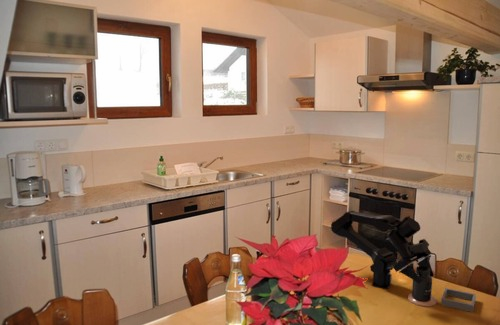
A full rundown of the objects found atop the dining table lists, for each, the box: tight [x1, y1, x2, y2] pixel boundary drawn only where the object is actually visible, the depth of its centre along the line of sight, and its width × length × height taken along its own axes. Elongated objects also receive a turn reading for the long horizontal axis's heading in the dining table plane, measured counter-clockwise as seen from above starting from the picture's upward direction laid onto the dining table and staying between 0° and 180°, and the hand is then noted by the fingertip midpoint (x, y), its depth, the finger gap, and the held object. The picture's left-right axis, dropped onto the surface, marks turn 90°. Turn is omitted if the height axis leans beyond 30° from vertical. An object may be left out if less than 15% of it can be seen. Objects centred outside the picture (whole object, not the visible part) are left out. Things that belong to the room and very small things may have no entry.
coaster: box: [407, 292, 437, 308], centre depth 158 cm, size 10×10×1 cm
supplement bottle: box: [411, 265, 433, 302], centre depth 157 cm, size 7×7×12 cm
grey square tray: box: [440, 287, 477, 313], centre depth 156 cm, size 11×11×2 cm
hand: (426, 279), depth 156 cm, fingers open, 9 cm apart
